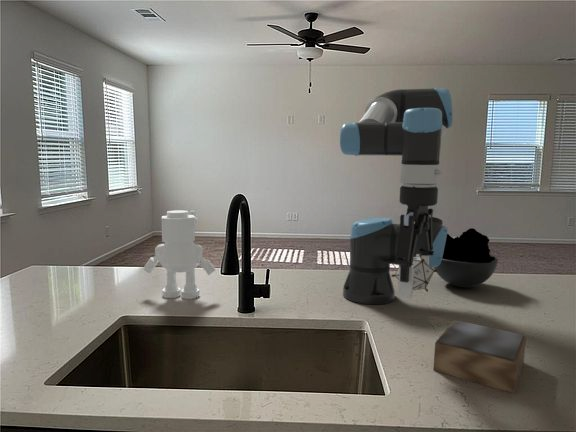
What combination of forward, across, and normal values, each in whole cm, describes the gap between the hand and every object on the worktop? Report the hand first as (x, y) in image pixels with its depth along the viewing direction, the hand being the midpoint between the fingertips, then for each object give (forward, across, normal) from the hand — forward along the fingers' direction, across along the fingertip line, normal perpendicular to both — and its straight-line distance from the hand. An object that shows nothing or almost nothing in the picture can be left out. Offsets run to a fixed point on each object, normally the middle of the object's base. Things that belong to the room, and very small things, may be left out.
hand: (413, 289), depth 91 cm
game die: (+1, 0, 0) cm, 1 cm away
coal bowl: (+14, +54, +2) cm, 56 cm away
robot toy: (+13, -7, +67) cm, 68 cm away
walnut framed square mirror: (+13, -1, -14) cm, 19 cm away
